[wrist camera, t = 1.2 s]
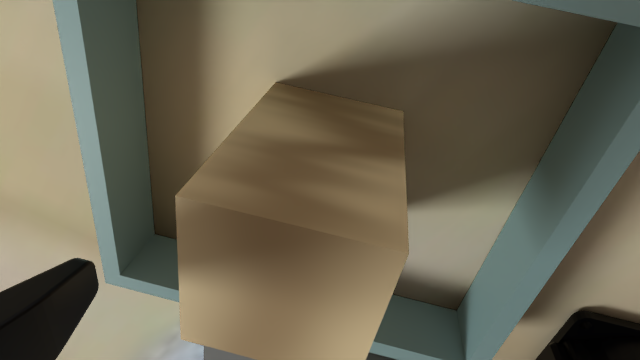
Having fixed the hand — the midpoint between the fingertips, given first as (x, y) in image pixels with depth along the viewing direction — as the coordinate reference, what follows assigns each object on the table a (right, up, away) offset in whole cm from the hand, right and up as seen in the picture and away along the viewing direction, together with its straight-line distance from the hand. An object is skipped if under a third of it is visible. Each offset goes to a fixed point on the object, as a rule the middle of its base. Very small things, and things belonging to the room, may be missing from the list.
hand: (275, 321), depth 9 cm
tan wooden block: (+1, +4, +7) cm, 9 cm away
